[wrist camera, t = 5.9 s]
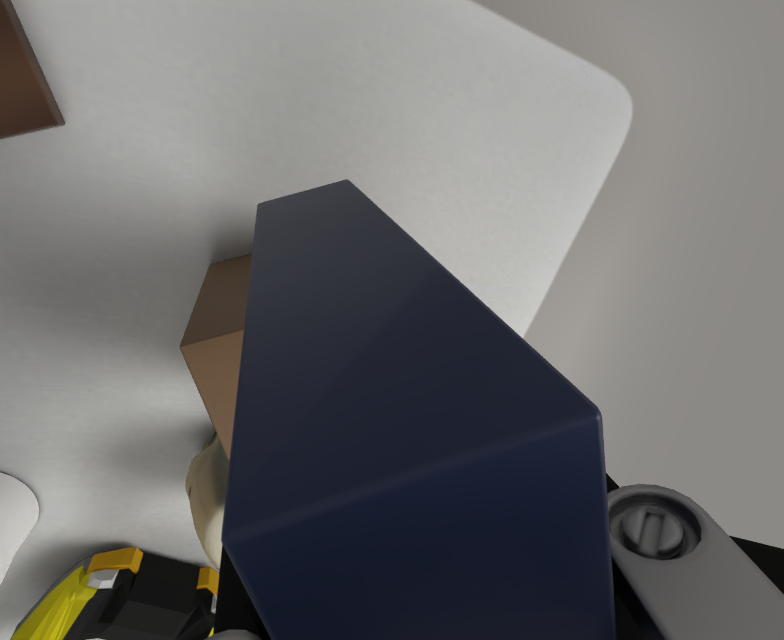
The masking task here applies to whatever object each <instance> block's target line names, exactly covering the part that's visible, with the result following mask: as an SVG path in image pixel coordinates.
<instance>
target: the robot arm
mask: <svg viewBox="0 0 784 640" xmlns="http://www.w3.org/2000/svg"><path fill="white" fill-rule="evenodd" d="M606 485H607V499H608V514H609V529H610V544H611V559H612V573H613V588H614V603H615V618H616V633H617V640H784V549H781V548H777V547H773V546H769V545H765V544H761V543H757V542H753V541H749V540H745V539H741V538H736V537H732V536H728V535H727V534H726V533H725V531H724V530H723V529H722V528H721V527H720V526H719V525H718V524H717V523H716V522H715V521H714V520H713V519H712V518H711V517H710V515H709V514H708V513H707V512H706V511H705V510H704V509H703V508H702V507H700V506H699V505H698V504H697V503H696V502H694V501H693V500H692V499H691V498H689V497H687V496H685V495H683V494H681V493H679V492H677V491H675V490H673V489H669V488H665V487H661V486H658V485H646V484H636V485H629V486H623V487H621V488H620V487H619V486H618V485H617V484H616V483H615V482H614V481H613V480H612V479H611V478H610V477H609V475H608V474H607V473H606ZM205 640H271V638H270V636H269V634H268V632H267V630H266V628H265V626H264V624H263V622H262V620H261V618H260V616H259V614H258V612H257V611H256V609H255V607H254V605H253V603H252V601H251V599H250V597H249V595H248V593H247V591H246V589H245V587H244V585H243V583H242V581H241V579H240V577H239V575H238V573H237V571H236V570H235V568H234V566H233V564H232V562H231V560H230V558H229V556H228V554H227V552H226V550H225V548H224V546H223V544H222V552H221V562H220V572H219V582H218V591H217V601H216V611H215V620H214V630H213V635H211V636H210V637H208V638H206V639H205Z"/></svg>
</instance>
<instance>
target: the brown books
mask: <svg viewBox="0 0 784 640" xmlns="http://www.w3.org/2000/svg"><path fill="white" fill-rule="evenodd" d="M251 260H252V254H250V255H246V256H242V257H238V258H234V259H230V260H227V261H223V262H219V263H215V264H211V265H209V268H208V271H207V273H206V276H205V279H204V282H203V284H202V287H201V290H200V293H199V295H198V298H197V301H196V303H195V306H194V309H193V312H192V314H191V317H190V320H189V322H188V325H187V328H186V331H185V333H184V336H183V339H182V342H181V344H180V349H181V352H182V354H183V356H184V359H185V361H186V363H187V365H188V368H189V370H190V372H191V375H192V377H193V379H194V382H195V384H196V386H197V389H198V391H199V393H200V396H201V398H202V400H203V403H204V405H205V407H206V409H207V412H208V414H209V416H210V419H211V421H212V423H213V426H214V428H215V430H216V433H217V435H218V437H219V440H220V442H221V444H222V447H223V449H224V451H225V453H226V456H227V458H228V460H229V461H230V451H231V442H232V433H233V424H234V415H235V406H236V397H237V388H238V379H239V369H240V360H241V351H242V342H243V333H244V324H245V315H246V306H247V296H248V287H249V278H250V269H251Z"/></svg>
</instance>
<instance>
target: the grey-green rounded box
mask: <svg viewBox="0 0 784 640" xmlns="http://www.w3.org/2000/svg"><path fill="white" fill-rule="evenodd" d="M228 470H229V460H228V458H227V456H226V453H225V451H224V449H223V447H222V444H221V442H220V440H219V437H218V435H217V433H216V431H215V434H214V437H213V439H212V440H211V441H210V442H209V443H208V444H206V445H205V446H204V449H203V451H202V452H200V453H199V454H198V455H197V456H196V457H195V458H194V459H193V461H192V462H191V465H190V467H189V471H188V474H187V478H186V492H187V495H188V497H189V500H190V507H191V512H192V517H193V521H194V525H195V529H196V532H197V535H198V537H199V539H200V542H201V544H202V546H203V549H204V551H205V553H206V555H207V556H208V558H209V560H210V561H211V562H212V563H213V565H214V566H215V567H216V568H218V569H219V570H220V562H221V552H222V542H221V534H222V524H223V515H224V506H225V497H226V488H227V479H228Z"/></svg>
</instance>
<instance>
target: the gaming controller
mask: <svg viewBox="0 0 784 640" xmlns="http://www.w3.org/2000/svg"><path fill="white" fill-rule="evenodd" d="M218 582H219V574H218V573H217V572H216V571H215V570H214V569H212V568H211V567H205V568H200V567H197V566H194V565H190V564H186V563H182V562H179V561H175V560H171V559H167V558H164V557H160V556H156V555H152V554H149V553H145V552H143V553H142V552H141V551H140V550H139V549H138V548H137V547H130V548H123V549H119V550H114V551H109V552H101V553H96V554H94V555H93V556H91V557H90V558H86V559H84V560H82V561H81V562H79V563H77V564H76V565H75V566H74V567H73V568H72V569H70V570H69V571H68V572H67V573H66V574H65V575H63V576H62V577H61V578H60V579H59V580H58V581H56V582H55V583H54V584H53V585H52V586H51V587H50V588H49V589H48V591H47V592H46V593H45V594H44V595H43V596H42V598H41V599H40V600H39V601H38V602H37V603H36V604H35V606H34V607H33V608H32V609H31V610H30V611H29V613H28V614H27V615H26V616H25V617H24V618H23V619H22V621H21V622H20V623H19V624H18V625H17V627H16V629H15V631H14V633H13V635H12V637H11V639H10V640H86V639H94V638H100V639H105V640H205V639H206V638H208V637H210V636H211V635H213V630H214V620H215V611H216V601H217V591H218Z"/></svg>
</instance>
